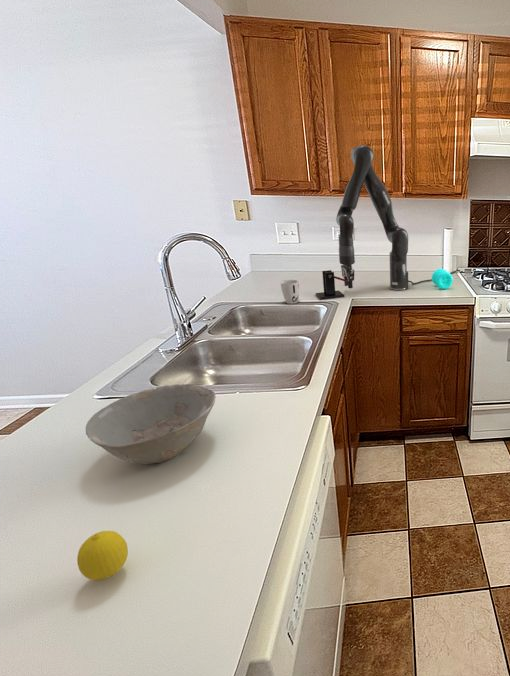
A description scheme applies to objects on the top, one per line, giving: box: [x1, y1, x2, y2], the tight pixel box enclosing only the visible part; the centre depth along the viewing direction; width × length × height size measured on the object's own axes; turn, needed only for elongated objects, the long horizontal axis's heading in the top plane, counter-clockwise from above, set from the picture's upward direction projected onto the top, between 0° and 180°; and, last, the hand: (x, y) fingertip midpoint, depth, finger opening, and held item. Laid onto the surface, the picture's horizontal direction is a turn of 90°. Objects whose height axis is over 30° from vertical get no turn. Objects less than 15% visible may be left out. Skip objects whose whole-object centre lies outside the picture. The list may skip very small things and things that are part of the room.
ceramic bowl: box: [85, 383, 216, 465], centre depth 86 cm, size 22×23×10 cm
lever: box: [334, 275, 348, 283], centre depth 201 cm, size 13×5×2 cm, turn 122°
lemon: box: [76, 530, 129, 581], centre depth 59 cm, size 6×6×8 cm
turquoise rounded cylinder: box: [431, 268, 454, 290], centre depth 223 cm, size 10×10×10 cm
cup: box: [280, 279, 300, 305], centre depth 189 cm, size 8×8×10 cm
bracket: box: [315, 269, 345, 301], centre depth 199 cm, size 12×9×13 cm
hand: (348, 286), depth 205 cm, fingers closed on lever, 5 cm apart
